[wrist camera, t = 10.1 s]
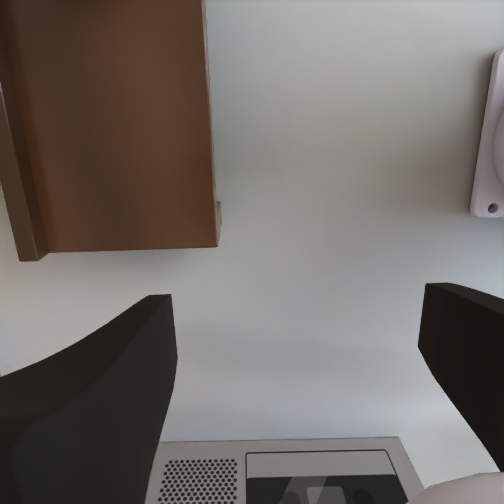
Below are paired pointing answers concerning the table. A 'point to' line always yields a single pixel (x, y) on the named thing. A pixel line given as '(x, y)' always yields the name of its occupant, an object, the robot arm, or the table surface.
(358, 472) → the cassette player
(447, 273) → the table surface
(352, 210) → the table surface
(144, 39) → the shelf
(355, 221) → the table surface
